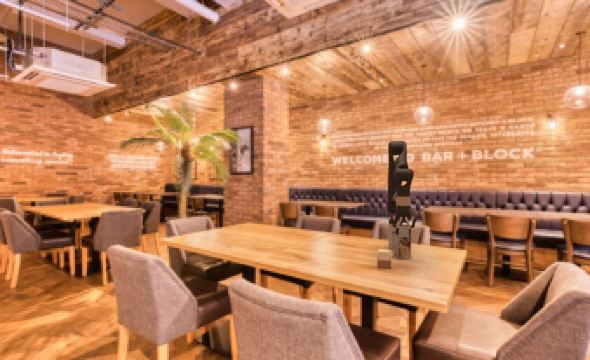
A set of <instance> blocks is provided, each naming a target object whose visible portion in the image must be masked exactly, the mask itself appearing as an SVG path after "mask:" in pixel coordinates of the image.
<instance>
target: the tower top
mask: <svg viewBox="0 0 590 360" xmlns="http://www.w3.org/2000/svg"><path fill="white" fill-rule="evenodd" d="M377 253H378V254H377V257H378V260H385V261H390V258H391V252H390V249H380V248H379V249H378V250H377Z"/></svg>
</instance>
